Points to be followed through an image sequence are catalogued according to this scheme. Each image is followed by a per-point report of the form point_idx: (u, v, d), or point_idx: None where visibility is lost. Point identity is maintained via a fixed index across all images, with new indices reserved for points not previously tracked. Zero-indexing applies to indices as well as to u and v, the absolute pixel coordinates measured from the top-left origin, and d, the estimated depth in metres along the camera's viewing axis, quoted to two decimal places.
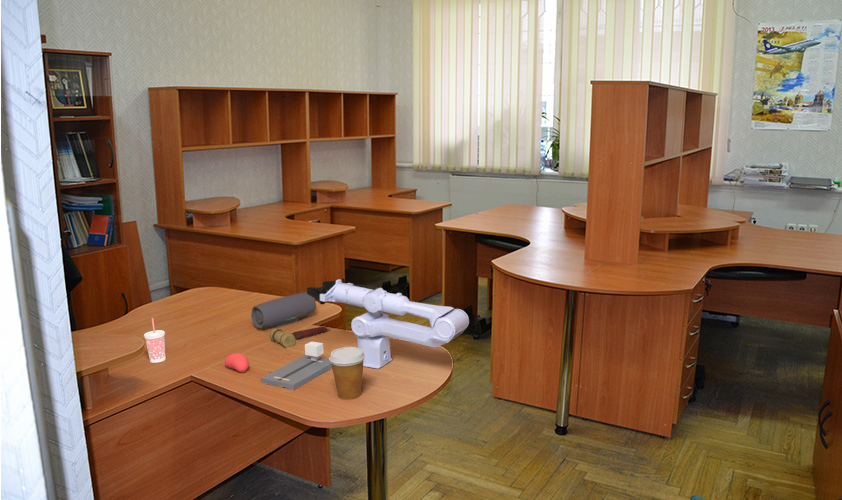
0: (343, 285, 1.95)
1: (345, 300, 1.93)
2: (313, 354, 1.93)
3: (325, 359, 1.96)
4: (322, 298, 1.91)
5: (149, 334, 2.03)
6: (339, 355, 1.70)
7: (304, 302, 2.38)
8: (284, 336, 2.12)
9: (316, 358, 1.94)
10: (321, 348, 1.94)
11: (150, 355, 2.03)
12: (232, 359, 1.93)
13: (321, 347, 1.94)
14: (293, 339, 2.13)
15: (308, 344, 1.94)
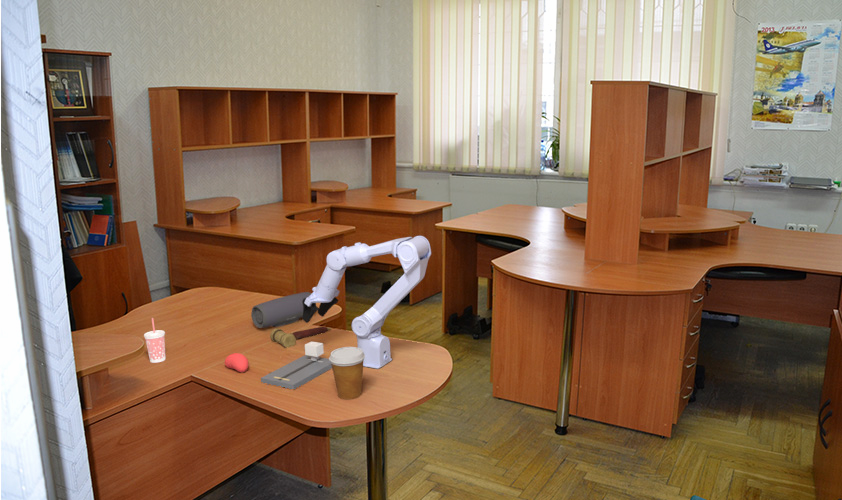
0: None
1: (325, 287, 1.95)
2: (313, 354, 1.93)
3: (325, 359, 1.96)
4: (307, 302, 1.93)
5: (149, 334, 2.03)
6: (339, 355, 1.70)
7: None
8: (284, 336, 2.12)
9: (316, 358, 1.94)
10: (321, 348, 1.94)
11: (150, 355, 2.03)
12: (232, 359, 1.93)
13: (321, 347, 1.94)
14: (293, 339, 2.13)
15: (308, 344, 1.94)
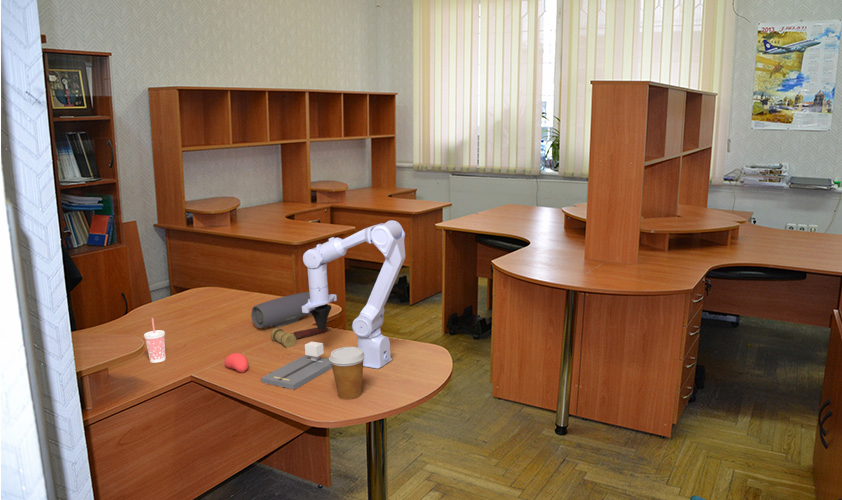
0: None
1: (315, 289, 1.95)
2: (313, 354, 1.93)
3: (325, 359, 1.96)
4: (304, 309, 1.92)
5: (149, 334, 2.03)
6: (339, 355, 1.70)
7: (304, 302, 2.38)
8: (285, 336, 2.12)
9: (316, 358, 1.94)
10: (321, 348, 1.94)
11: (150, 355, 2.03)
12: (231, 359, 1.93)
13: (321, 347, 1.94)
14: (294, 339, 2.13)
15: (308, 344, 1.94)
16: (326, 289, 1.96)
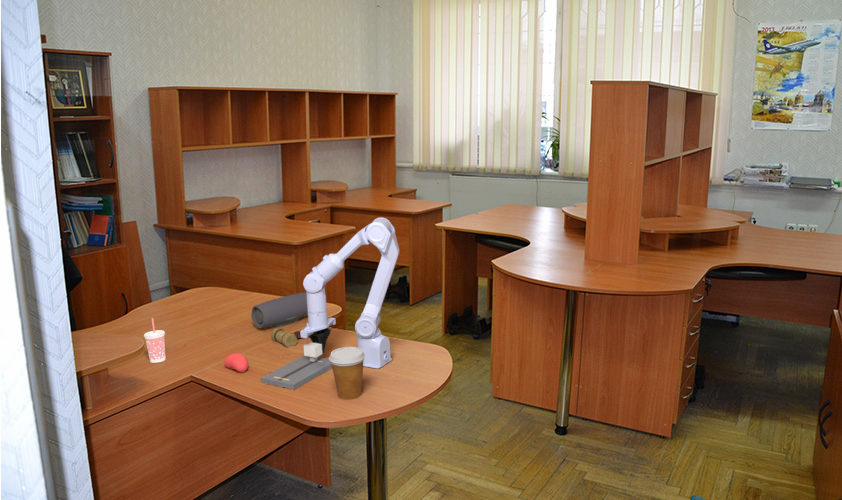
0: None
1: (314, 314, 1.92)
2: (311, 355, 1.92)
3: (325, 359, 1.96)
4: (302, 334, 1.90)
5: (149, 334, 2.03)
6: (339, 355, 1.70)
7: (304, 301, 2.38)
8: (286, 336, 2.12)
9: (315, 359, 1.94)
10: (320, 349, 1.93)
11: (150, 355, 2.03)
12: (231, 359, 1.93)
13: (320, 348, 1.93)
14: (294, 339, 2.13)
15: (307, 345, 1.94)
16: (325, 313, 1.94)
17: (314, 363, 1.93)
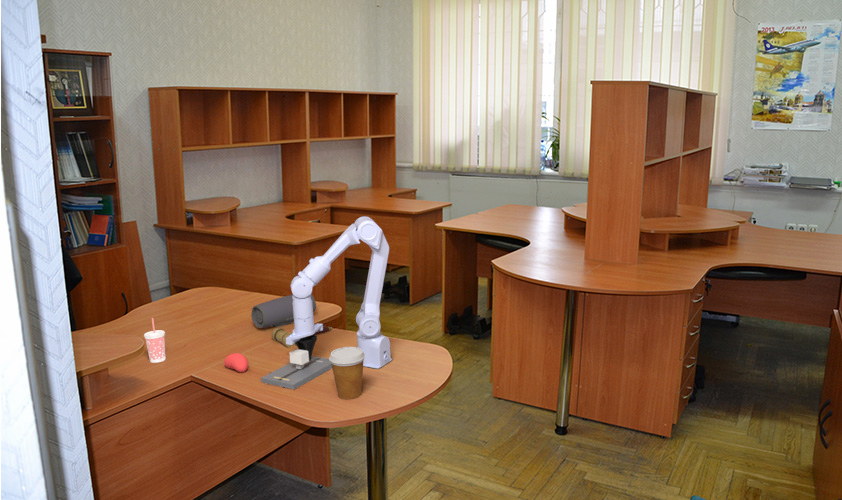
0: None
1: (300, 320, 1.86)
2: (297, 362, 1.87)
3: (325, 359, 1.96)
4: (288, 341, 1.84)
5: (149, 334, 2.03)
6: (339, 355, 1.70)
7: None
8: (286, 336, 2.12)
9: (301, 366, 1.89)
10: (306, 356, 1.88)
11: (150, 355, 2.03)
12: (231, 359, 1.93)
13: (306, 355, 1.88)
14: None
15: (293, 352, 1.88)
16: (311, 319, 1.88)
17: (314, 363, 1.93)
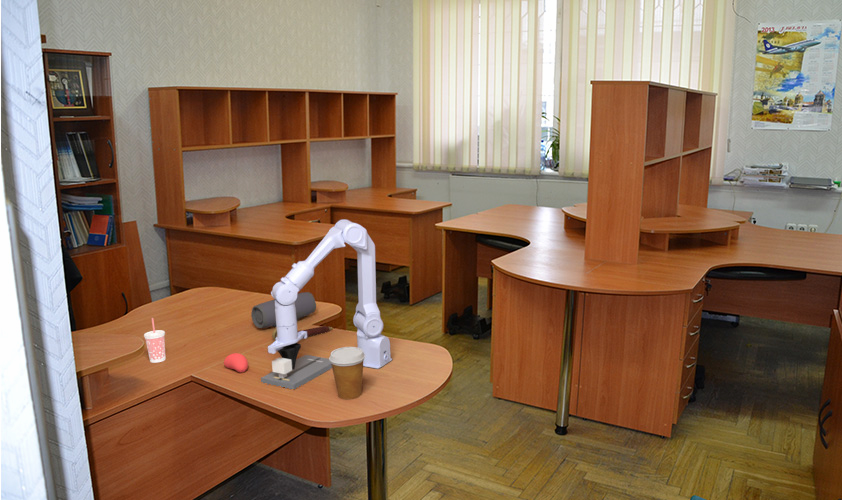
0: None
1: (283, 328, 1.80)
2: (280, 371, 1.81)
3: (325, 359, 1.96)
4: (270, 350, 1.78)
5: (149, 334, 2.03)
6: (339, 355, 1.70)
7: (304, 302, 2.38)
8: None
9: (284, 375, 1.82)
10: (289, 365, 1.82)
11: (150, 355, 2.03)
12: (231, 359, 1.93)
13: (289, 364, 1.82)
14: None
15: (275, 360, 1.82)
16: (295, 327, 1.82)
17: (314, 363, 1.93)
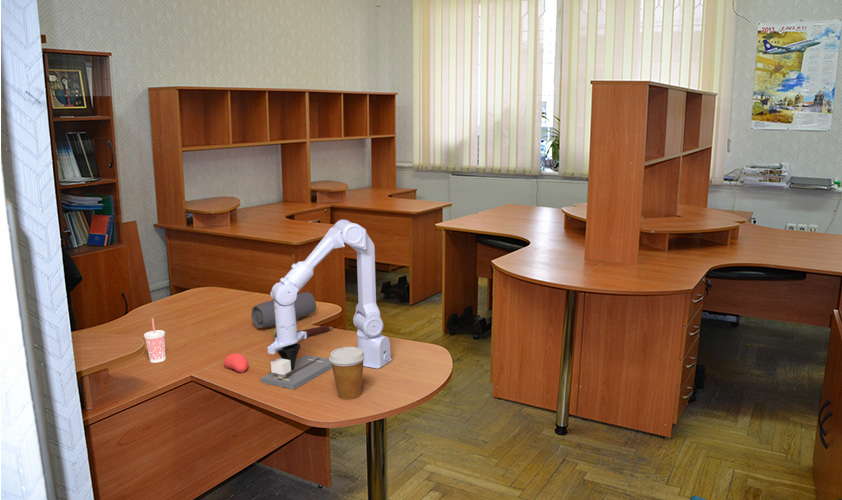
0: None
1: (282, 328, 1.80)
2: (279, 372, 1.80)
3: (325, 359, 1.96)
4: (270, 350, 1.78)
5: (149, 334, 2.03)
6: (339, 355, 1.70)
7: (304, 302, 2.38)
8: None
9: (283, 376, 1.82)
10: (288, 365, 1.81)
11: (150, 355, 2.03)
12: (231, 359, 1.93)
13: (288, 364, 1.81)
14: None
15: (274, 361, 1.81)
16: (294, 327, 1.82)
17: (314, 363, 1.93)
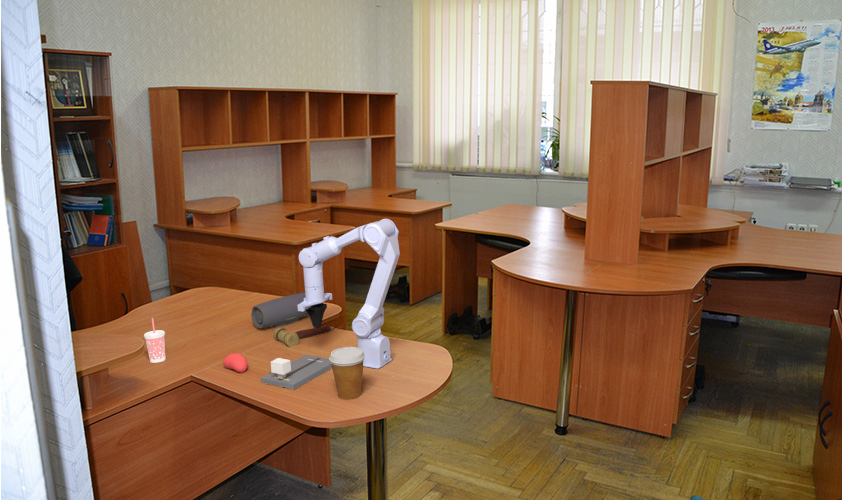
0: None
1: (311, 288, 1.96)
2: (279, 372, 1.80)
3: (325, 359, 1.96)
4: (300, 308, 1.94)
5: (149, 334, 2.03)
6: (339, 355, 1.70)
7: None
8: (288, 335, 2.13)
9: (283, 376, 1.82)
10: (288, 365, 1.81)
11: (150, 355, 2.03)
12: (230, 359, 1.93)
13: (288, 364, 1.81)
14: (297, 338, 2.14)
15: (274, 361, 1.81)
16: (322, 288, 1.98)
17: (314, 363, 1.93)
